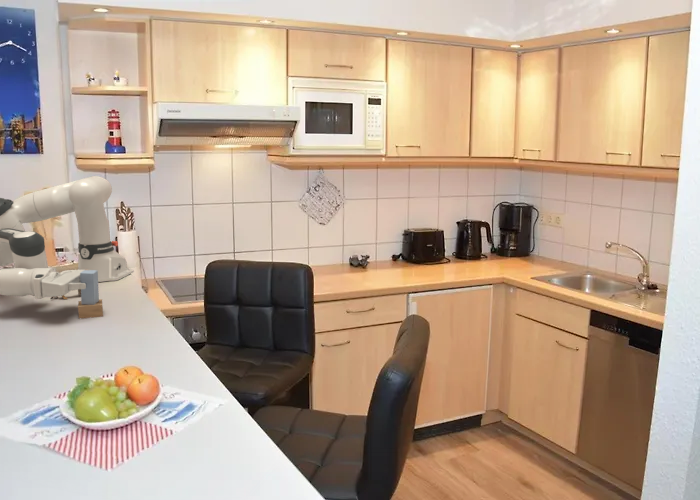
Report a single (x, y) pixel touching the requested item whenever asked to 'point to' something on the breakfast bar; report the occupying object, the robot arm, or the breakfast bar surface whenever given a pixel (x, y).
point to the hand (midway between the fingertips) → (91, 282)
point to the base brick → (90, 310)
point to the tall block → (89, 287)
